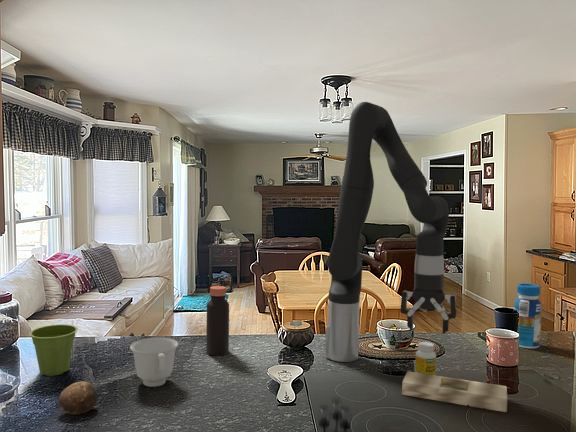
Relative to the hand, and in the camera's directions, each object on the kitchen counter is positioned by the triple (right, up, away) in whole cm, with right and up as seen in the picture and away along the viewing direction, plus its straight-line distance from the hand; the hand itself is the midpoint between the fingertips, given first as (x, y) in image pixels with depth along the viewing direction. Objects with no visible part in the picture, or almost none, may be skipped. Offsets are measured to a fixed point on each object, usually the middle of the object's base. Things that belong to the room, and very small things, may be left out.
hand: (427, 331), depth 137 cm
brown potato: (-85, -13, -21) cm, 88 cm away
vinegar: (-59, -11, +19) cm, 63 cm away
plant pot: (-101, -11, +1) cm, 101 cm away
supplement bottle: (0, -13, +1) cm, 13 cm away
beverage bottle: (+41, -12, +32) cm, 53 cm away
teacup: (-71, -12, -6) cm, 73 cm away
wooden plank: (+4, -14, -11) cm, 18 cm away
